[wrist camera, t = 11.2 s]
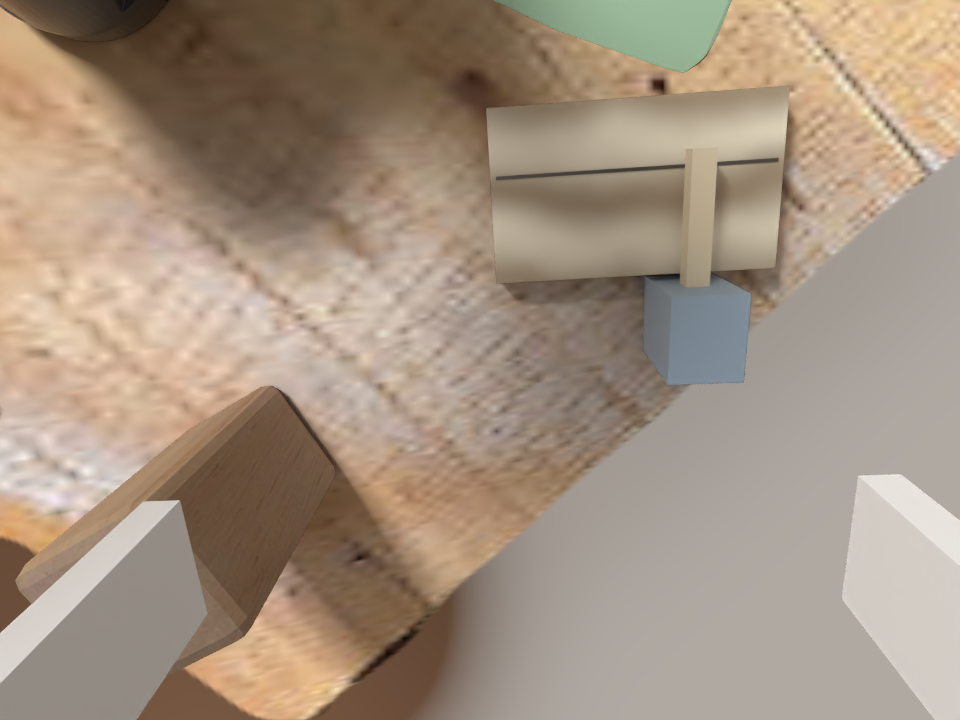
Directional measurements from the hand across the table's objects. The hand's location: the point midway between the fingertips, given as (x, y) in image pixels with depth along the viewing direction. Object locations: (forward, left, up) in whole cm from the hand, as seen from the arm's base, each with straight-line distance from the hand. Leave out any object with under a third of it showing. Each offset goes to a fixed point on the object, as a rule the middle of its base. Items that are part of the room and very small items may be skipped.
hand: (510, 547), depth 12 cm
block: (+15, -22, -37) cm, 46 cm away
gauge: (0, +13, -37) cm, 39 cm away
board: (-5, +9, -37) cm, 38 cm away
